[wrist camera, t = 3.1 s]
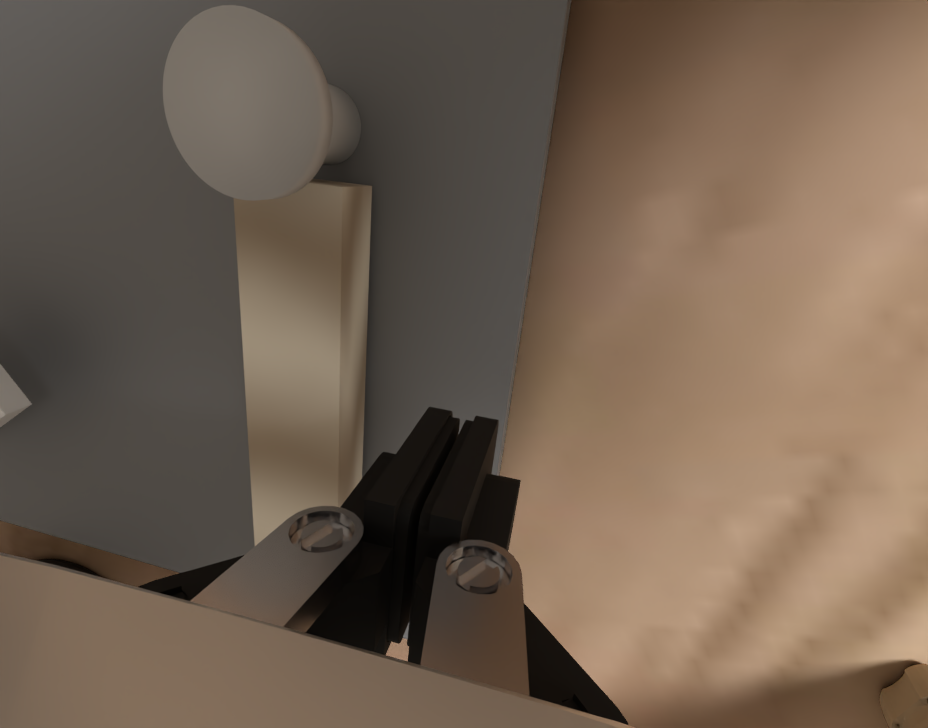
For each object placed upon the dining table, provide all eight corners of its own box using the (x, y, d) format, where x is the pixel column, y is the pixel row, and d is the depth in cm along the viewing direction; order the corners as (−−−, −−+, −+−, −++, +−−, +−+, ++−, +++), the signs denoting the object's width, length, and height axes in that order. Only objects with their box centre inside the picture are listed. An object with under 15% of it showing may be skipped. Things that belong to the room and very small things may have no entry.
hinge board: (-177, -97, 16) (-460, -198, 12) (583, -81, 12) (577, -229, 8) (-7, 499, 25) (-136, 569, 20) (475, 635, 20) (442, 761, 16)
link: (273, 173, 14) (231, 173, 13) (372, 185, 14) (342, 187, 12) (286, 572, 20) (258, 608, 18) (357, 592, 19) (336, 631, 18)
